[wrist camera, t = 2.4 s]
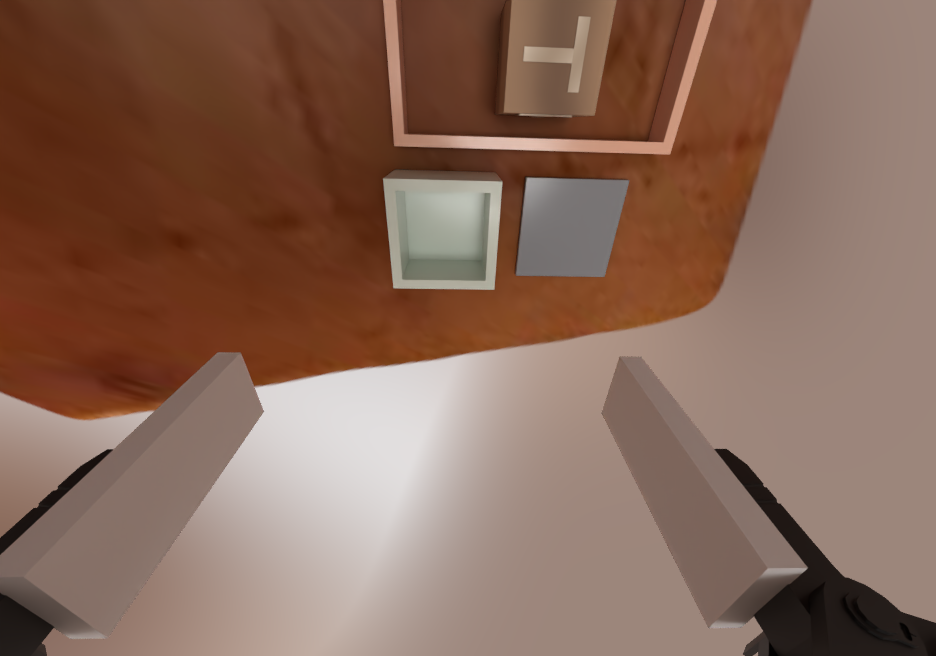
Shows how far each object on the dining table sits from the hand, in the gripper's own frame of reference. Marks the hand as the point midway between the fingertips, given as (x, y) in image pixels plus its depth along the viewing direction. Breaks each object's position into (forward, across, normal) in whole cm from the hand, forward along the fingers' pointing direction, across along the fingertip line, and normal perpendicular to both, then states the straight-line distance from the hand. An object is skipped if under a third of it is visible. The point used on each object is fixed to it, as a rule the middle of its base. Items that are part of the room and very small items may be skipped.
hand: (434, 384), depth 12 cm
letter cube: (+22, +7, +12) cm, 26 cm away
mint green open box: (+22, 0, 0) cm, 22 cm away
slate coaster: (+22, +11, 0) cm, 25 cm away
